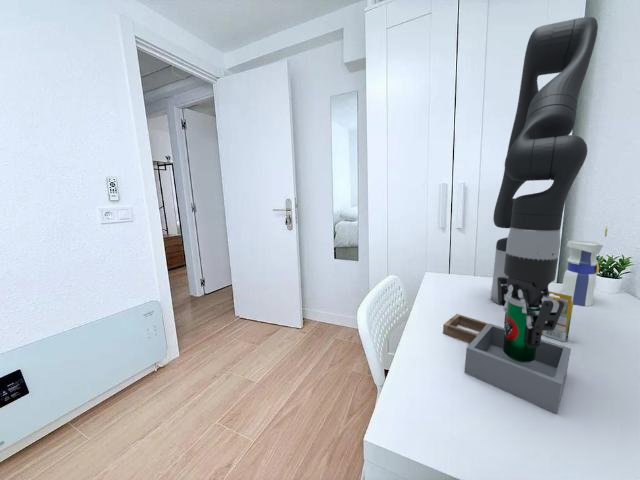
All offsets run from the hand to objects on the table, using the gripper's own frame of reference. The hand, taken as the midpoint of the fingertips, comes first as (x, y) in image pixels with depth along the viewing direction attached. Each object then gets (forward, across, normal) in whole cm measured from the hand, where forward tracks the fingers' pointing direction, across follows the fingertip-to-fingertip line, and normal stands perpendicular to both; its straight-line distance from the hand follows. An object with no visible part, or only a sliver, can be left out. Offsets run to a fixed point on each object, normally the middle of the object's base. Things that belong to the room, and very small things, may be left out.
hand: (520, 337), depth 51 cm
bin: (+8, 0, 0) cm, 8 cm away
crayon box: (+8, +15, -18) cm, 24 cm away
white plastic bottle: (+8, +35, -42) cm, 56 cm away
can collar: (+8, +15, +2) cm, 17 cm away
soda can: (+4, 0, 0) cm, 4 cm away
